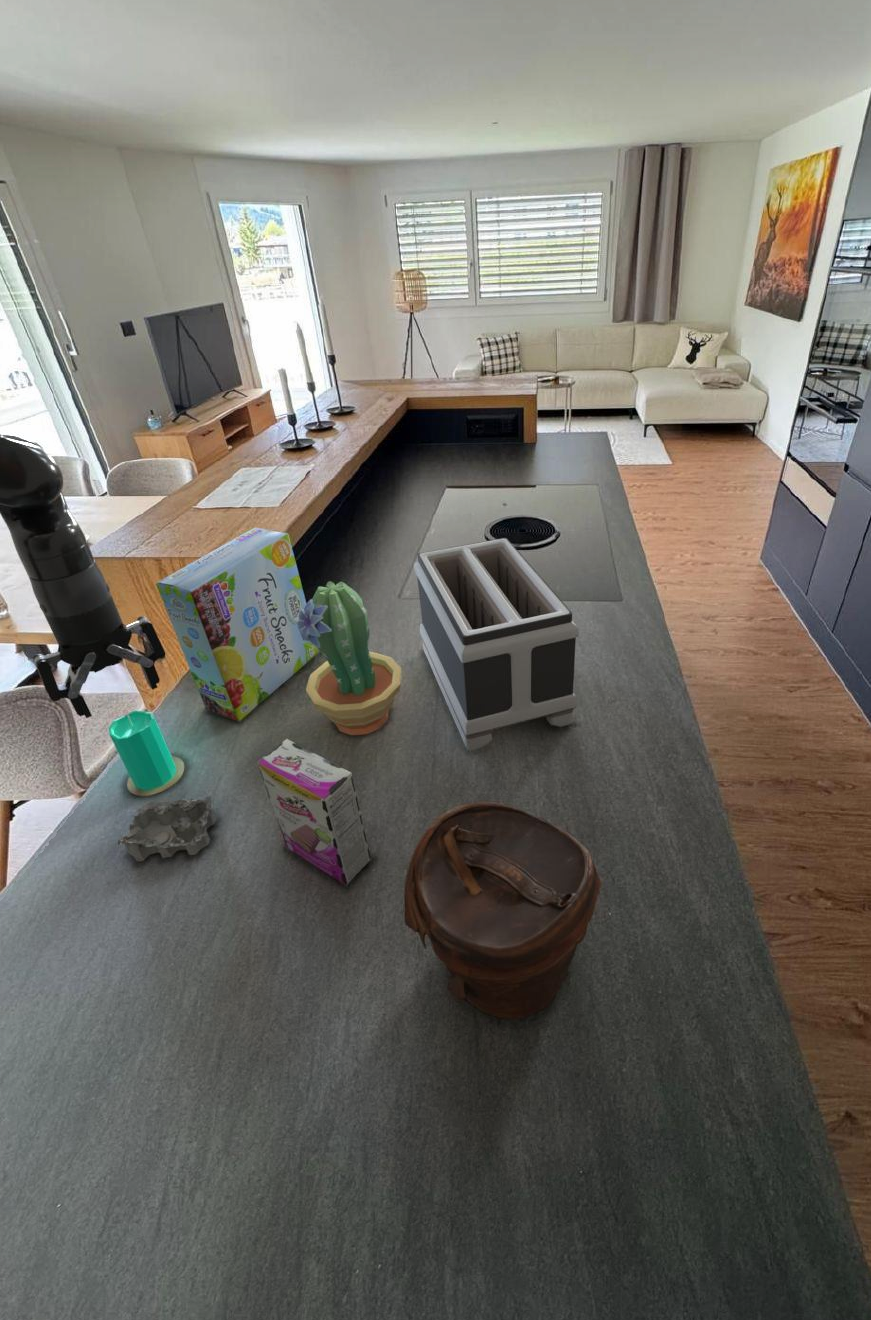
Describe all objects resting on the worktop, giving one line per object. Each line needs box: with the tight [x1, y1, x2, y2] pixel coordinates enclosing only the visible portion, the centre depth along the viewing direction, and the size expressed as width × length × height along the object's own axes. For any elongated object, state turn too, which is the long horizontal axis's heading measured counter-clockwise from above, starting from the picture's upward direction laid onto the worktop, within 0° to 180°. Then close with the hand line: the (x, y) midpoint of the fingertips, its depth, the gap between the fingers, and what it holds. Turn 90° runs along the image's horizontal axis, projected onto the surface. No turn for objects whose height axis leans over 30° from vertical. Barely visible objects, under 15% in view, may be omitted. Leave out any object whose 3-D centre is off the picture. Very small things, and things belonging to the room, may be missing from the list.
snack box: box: [155, 527, 320, 723], centre depth 106 cm, size 22×9×26 cm, turn 154°
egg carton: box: [117, 795, 217, 862], centre depth 83 cm, size 11×8×4 cm
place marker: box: [126, 755, 185, 797], centre depth 94 cm, size 8×8×1 cm
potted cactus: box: [297, 581, 403, 736], centre depth 97 cm, size 15×15×25 cm
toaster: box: [413, 537, 579, 751], centre depth 105 cm, size 18×34×21 cm, turn 18°
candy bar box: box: [257, 738, 372, 886], centre depth 76 cm, size 11×5×16 cm, turn 58°
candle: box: [108, 710, 176, 790], centre depth 90 cm, size 6×6×12 cm
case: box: [403, 801, 602, 1019], centre depth 64 cm, size 18×20×18 cm
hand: (121, 700), depth 86 cm, fingers open, 8 cm apart
